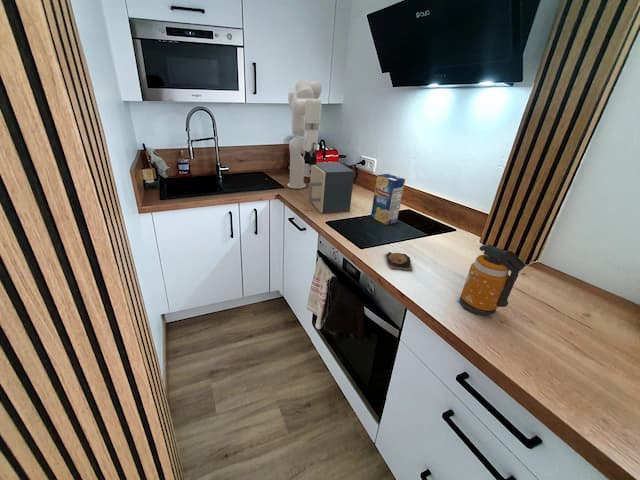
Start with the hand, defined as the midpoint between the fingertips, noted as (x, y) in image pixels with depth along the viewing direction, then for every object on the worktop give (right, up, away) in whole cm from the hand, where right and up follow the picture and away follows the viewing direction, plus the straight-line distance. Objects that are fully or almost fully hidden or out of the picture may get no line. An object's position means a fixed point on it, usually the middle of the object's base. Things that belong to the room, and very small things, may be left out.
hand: (310, 162), depth 143 cm
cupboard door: (+2, -21, +16) cm, 26 cm away
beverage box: (+37, -29, 0) cm, 47 cm away
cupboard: (+13, -20, +18) cm, 30 cm away
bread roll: (+29, -45, -37) cm, 65 cm away
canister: (+44, -56, -59) cm, 92 cm away
